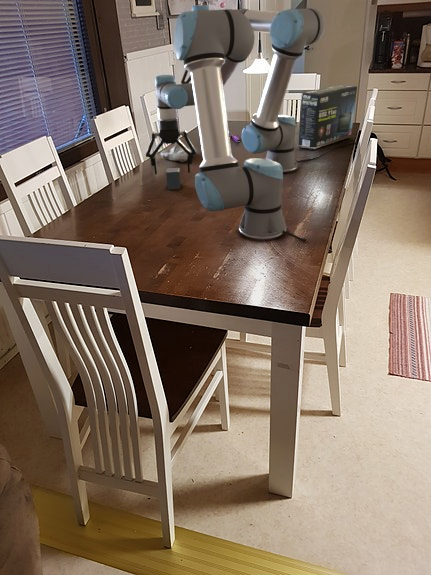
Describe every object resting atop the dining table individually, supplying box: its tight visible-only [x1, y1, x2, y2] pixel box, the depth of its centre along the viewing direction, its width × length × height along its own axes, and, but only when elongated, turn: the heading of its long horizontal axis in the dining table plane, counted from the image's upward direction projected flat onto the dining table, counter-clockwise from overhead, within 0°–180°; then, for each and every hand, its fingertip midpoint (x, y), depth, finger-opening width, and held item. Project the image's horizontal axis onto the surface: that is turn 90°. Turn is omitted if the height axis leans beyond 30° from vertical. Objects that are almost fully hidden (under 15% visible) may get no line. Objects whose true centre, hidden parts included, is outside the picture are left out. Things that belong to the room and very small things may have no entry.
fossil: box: [160, 142, 199, 163], centre depth 229 cm, size 18×11×15 cm
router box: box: [297, 84, 358, 151], centre depth 238 cm, size 36×11×27 cm, turn 134°
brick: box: [165, 167, 181, 191], centre depth 190 cm, size 5×6×7 cm
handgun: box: [231, 134, 241, 144], centre depth 258 cm, size 21×8×2 cm, turn 11°
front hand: (172, 172), depth 189 cm, fingers open, 13 cm apart
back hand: (204, 100), depth 208 cm, fingers open, 13 cm apart
